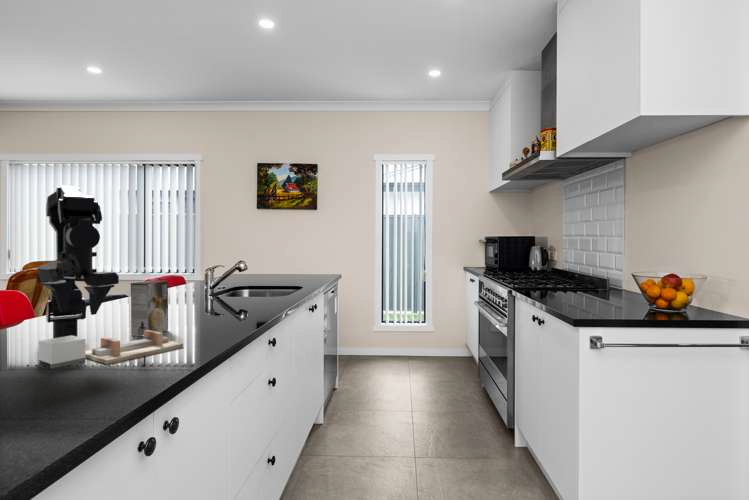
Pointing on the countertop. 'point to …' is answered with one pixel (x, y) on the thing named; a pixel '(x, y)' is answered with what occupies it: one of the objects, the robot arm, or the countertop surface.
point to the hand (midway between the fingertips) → (78, 313)
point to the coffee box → (149, 306)
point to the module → (62, 351)
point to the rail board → (131, 348)
